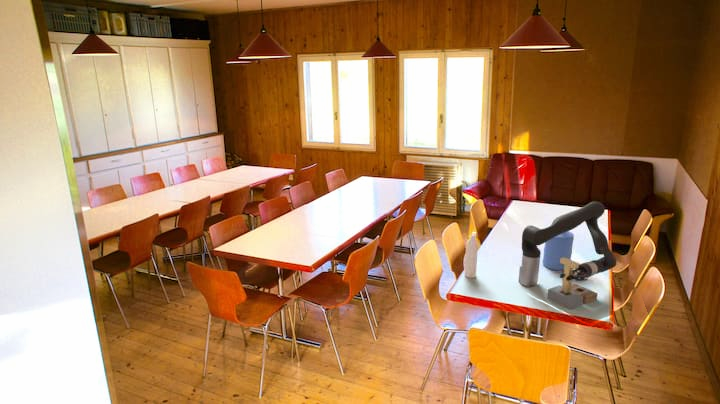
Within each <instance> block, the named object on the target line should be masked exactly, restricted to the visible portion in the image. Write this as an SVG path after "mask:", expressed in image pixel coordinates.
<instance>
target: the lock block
mask: <svg viewBox="0 0 720 404" xmlns="http://www.w3.org/2000/svg"><path fill="white" fill-rule="evenodd" d="M571 291H574V292H576V293H578V294H580V295H582V296H583V303H582V304H589V303H591V302H594V301H597V300H598V293H597V292H596V291H593V290H592V289H589V288H586V287H584V286H582V285H579V284H577V283H576V282H572V284H571Z"/></svg>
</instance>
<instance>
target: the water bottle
mask: <svg viewBox="0 0 720 404" xmlns="http://www.w3.org/2000/svg"><path fill="white" fill-rule="evenodd" d="M476 235H477V232H476V231H472V232H471V234H470V237H469V238H468V240H467V241H466V247H465V261H464V262H465V263H464V264H465V265H464V277H466V278H469V279H470V278H471V279H473V278H476V276H477V264H478V263H477V262H478V249H479V248H478V247H479V242H478V240H477V239H476Z"/></svg>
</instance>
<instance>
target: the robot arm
mask: <svg viewBox="0 0 720 404" xmlns="http://www.w3.org/2000/svg"><path fill="white" fill-rule="evenodd" d="M605 208H606V207H605V205H604V204H603V203H601V202H599V201H592V202H591V201H590V202H589V203H588V204H586V205H584V206H582V207H580V208H579V209H575V210H572V211H570V212H567V213H565V214H561V215H560V216H557V217H556V218H554V220H553V221H552V223H551V225H549V226H547V227H545V228H539V227H537V226H534V225H527V226H526V227H524V229H523V230H522V235H521V250H522V256H521V257H522V258H521V265H520V266H519V271H518V272H519V274H518V281H517V282H518V283H519V284H520V285H522V286H524V287H528V288H531V287H535V286H538V281H539V271H540V262H541V253H542V252H541V250H540V248H539V247H538V246H542V245H543V244H545V242H547V241H548V240H550V239H552V238H554V237H556V236H558V235H560V234H562V233H565V232H567V231H569V232H571V231H573V230H574V229H576V228H577V227H578V226H581V225H582V224H584V223H585V224H586V227H587V229H588V230H589V233H590V235H591V239H592V242H593V246H594V250H595V253H596V254H597V255H600V256H602V255H603V257H600V258H599V259H594V260H593V259H592V260H589V261H586V262H582V263H579V268H577V269H574V268H573V275H570V276H567V277H566V280H567V281H569V280H572V281H576V282H581V281H582V282H585V281H588V279H589V278H591V277H593V276H595V275H598V274H599V273H604V272H606V271H608V270H609V271H610V270H611V269H613V268H615V267H616V266H617V263H618V262H617V258H616V257H615V255H614V254H613V252H612V250H611V248H610V246H609V241H608V239H607V237H606V235H605V233H604V232H603V231H602V230H601V229H600V227H599V223H598V220H599V219H600V217H602V216H603V215H604V214H605V210H606V209H605ZM559 275H560V276H559V277H560V279H563V275H564V269H563V270H562V273H560V274H559Z"/></svg>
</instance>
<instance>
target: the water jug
mask: <svg viewBox="0 0 720 404" xmlns="http://www.w3.org/2000/svg"><path fill="white" fill-rule="evenodd" d="M574 237H575V234H574V233H573V232H571V231H567V232H565V233H562V234H560V235H558V236H556V237H554V238H552V239H550V240H548V241H547V242H545V243H544V247H543V258H542V265H543V266H544V267H546V268H548V269H550V270H554V271H563V269H564V264H562V263H560V258H562V257H564V258H567V259H570V260H572V259H571V258H572V255H573V245H574V244H573V243H574Z"/></svg>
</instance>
